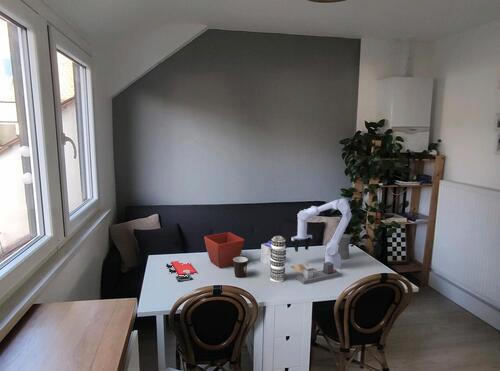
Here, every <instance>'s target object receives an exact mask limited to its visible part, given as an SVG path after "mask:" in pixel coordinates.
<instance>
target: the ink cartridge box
mask: <svg viewBox="0 0 500 371" xmlns="http://www.w3.org/2000/svg"><path fill="white" fill-rule="evenodd" d="M271 244H272V240H268V241H267V242H266V243H265V242H264V243H262V244H261V246H260V247H261V248H260V263H264V264H266V265H267V266H270V267H271V257H270V255H271V254H270V253H271V251H272V250H271V251H270V247H271Z"/></svg>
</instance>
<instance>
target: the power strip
mask: <svg viewBox="0 0 500 371" xmlns="http://www.w3.org/2000/svg"><path fill="white" fill-rule="evenodd" d="M337 270H338V269H333V274H329V275H327V274H325V273H324V272H323V269H321V270H316V271H313V278H310V279H307V278H305V277H304V276H303V273H300V274H297V275H295V280H297V281H299V282H300V283H301V284H302V285H308V284H312V283H317V282H320V281H326V280H330V279H335V278H339V277H342V276H341V275H342V273H341V272H340V271H337Z"/></svg>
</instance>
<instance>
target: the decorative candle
mask: <svg viewBox="0 0 500 371" xmlns="http://www.w3.org/2000/svg"><path fill="white" fill-rule="evenodd" d="M270 241H272V244H271V243H270V244H271V247H270V251H271V250H272V251H271V253H270V254H271V255H270V257H271V266H270V269H269V270H270V273H269V274H270V276H269V277H270V278H269V279H270V281H271V282H274V283H283V282H284V281H285V278H286V265H285V262H286V255H287V253H286V252H287V250H286V249H287V246H286V238H285V237H284V236H282V235H275V236H273V238H271V240H270Z"/></svg>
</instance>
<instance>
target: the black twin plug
mask: <svg viewBox="0 0 500 371" xmlns="http://www.w3.org/2000/svg"><path fill="white" fill-rule="evenodd" d="M323 266H324V267H323ZM323 266H322V268H323V269H322V270H323V272H324V273H325V274H327V275H329V274H333V266H334V264H332V263H331V262H325V261H324V262H323Z"/></svg>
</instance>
